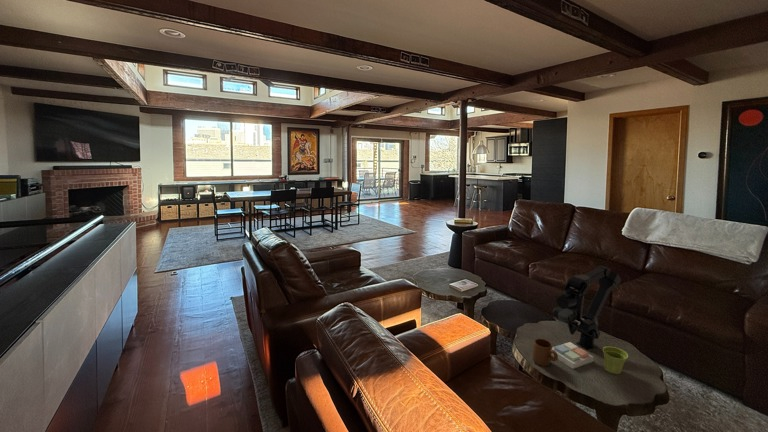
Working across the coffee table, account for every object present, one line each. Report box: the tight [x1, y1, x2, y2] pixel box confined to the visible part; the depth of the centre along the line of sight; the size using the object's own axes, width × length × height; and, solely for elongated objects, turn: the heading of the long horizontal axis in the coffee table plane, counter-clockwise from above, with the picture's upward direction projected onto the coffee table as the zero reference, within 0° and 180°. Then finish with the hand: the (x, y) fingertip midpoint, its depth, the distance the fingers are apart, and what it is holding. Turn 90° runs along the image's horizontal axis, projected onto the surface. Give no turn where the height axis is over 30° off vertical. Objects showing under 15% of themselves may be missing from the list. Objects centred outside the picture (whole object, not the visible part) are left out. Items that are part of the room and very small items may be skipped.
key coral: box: [574, 347, 590, 359], centre depth 167 cm, size 4×4×2 cm
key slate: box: [553, 344, 569, 355], centre depth 170 cm, size 4×4×2 cm
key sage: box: [565, 351, 580, 362], centre depth 165 cm, size 4×4×2 cm
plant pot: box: [602, 346, 629, 375], centre depth 159 cm, size 9×9×9 cm
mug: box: [532, 338, 558, 367], centre depth 163 cm, size 12×8×9 cm, turn 22°
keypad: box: [551, 343, 594, 370], centre depth 169 cm, size 13×13×3 cm
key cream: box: [563, 341, 579, 351], centre depth 172 cm, size 4×4×2 cm
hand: (571, 334), depth 171 cm, fingers closed
